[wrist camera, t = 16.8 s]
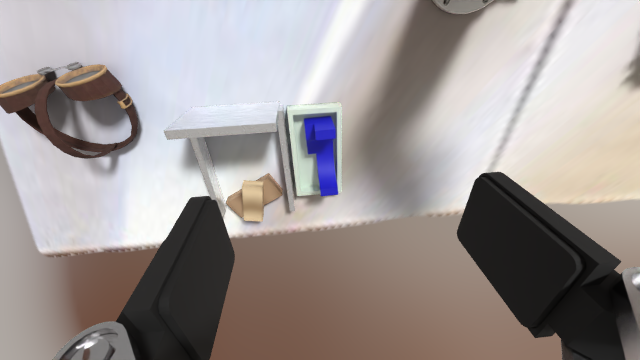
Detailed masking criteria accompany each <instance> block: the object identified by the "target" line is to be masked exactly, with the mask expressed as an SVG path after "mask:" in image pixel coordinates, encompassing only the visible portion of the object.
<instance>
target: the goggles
mask: <svg viewBox="0 0 640 360" xmlns="http://www.w3.org/2000/svg"><path fill="white" fill-rule="evenodd" d="M81 66H82V65H81V64H80V63H79V62H76V63H72V64H69V65H67V66H66V67H60V68H56V69H52V68H50V67H45V68H42V69H40V70H38V71H37V72H38V73H39V74H36V75H29V76H24V77H21V78H18V79H14V80H12V81H9V82H6V83H4V84H2V85H0V106H1V107H2V108H3V109H4V110H5V111H6V113H9V114H10V113H13V112H16V113H17V114H18V115H19V117H20V118H21V119H22V120H24V121H25V122H26V123H28V124H29V125H30V126H31V127H33V128H34V129H35V130H37V131H38V132H40V133H42V134H44V135H45V136H46V137H47V138H48V139H49V140H50V141H51V142H52V144H53V145H54V146H56V147H57V148H59V149H60V150H61V151H63V152H64V153H67V154H69V155H71V156H74V157H79V158H96V157H101V156H104V155H106V154H108V153H110V152H111V151H114V150H117V149H120V148H122V147H124V146H126V145H127V144H129V143H130V142H132V141H133V139H134V137H135V136H136V134H137V128H138V118H137V114H136V110H135V108H134V106H133V104H132V101H133V100H132V99H131V97H130V96H129V95H128V94H125V93H124V92H123V90H122V89H121V86H122V85H121V83H120V82H119V81H118V80H117V79H116V78H115V77H114V76H113V75H112V74H111V73H110V72H109V71H108V70H107V68H106V66H105V65H90V66H86V67H82V68H79V67H81ZM61 68H67V69H69V70H73V71H71V72H68V73H66V74H64V75H62V76H61V77H59V78H57V79H55V80H53V81H50V82H49V81H48V80H47V79H46V77H45V75H43V74H47V73H50V72H52V71H54V70H58V69H61ZM77 68H79V69H77ZM74 69H76V70H74ZM55 84H56V85H57V86H59V87H60V88H61V90H62V91H63V92H64V93H65V94H66V96H67V97H68V98H70V99H72V100H76V101H89V100H96V99H100V98H104V97H107V96H109V95H112V94H113V95H114V96H115V97H116V98H117V99H118V101H117V103H118V104H119V105H120V106H121V108H122V109H125V110H126V112H127V113H128V115H129V118H130V121H131V125H132V130H131V136H130V137H129V138H128V139H126V140H125V141H123V142H120V143H114V144H97V143H90V142H86V141H83V140H79V139H76V138H73V137H71V136H69V135H66V134H64V133H62V132H60V131H58V130H56V129H55V128H53V126H52V124H51V123H50V120H49V116H48V112H47V98H48V95H49V94H51V93H52V92H53V91H54V90H55V89H56V88H55V87H54V86H55ZM34 103H35V114H36V115H35V114H34V113H33V112H32V111H31V110H30V109H29V108H28V106H30V105H32V104H34ZM71 147H73V148H77V149H80V150H85V151H93V152H101V153H100V154H97V155H95V156H91V155H85V154H82V153H80V152H78V151H76V150H74V149H72V148H71Z"/></svg>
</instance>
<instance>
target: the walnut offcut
mask: <svg viewBox="0 0 640 360" xmlns="http://www.w3.org/2000/svg"><path fill="white" fill-rule="evenodd" d="M256 181H263V182H264V205H265V204H267V203H269V202H271V201H273V200H274V199H276V198H278V197H280V196H282V191H283V189H282V188H281V187H280V186H279V184H278V183H277V182H276V181H275V180H274V179H273V177H272V176H271V175H270V174H269V173H268V174H266V175H265V176H263V177H261V178H260V179H258V180H256ZM226 204H227V205H228V206H229V207H230V208H231V209H232V210H234V211H235V212H236V213H237V214H238V215H239V216H240V217H241V218H242V217H244V213H243V196H242V189H241V190H239V191H238V192H236V193H234V194H233V195H231V196H229V197H228V199H227V201H226Z"/></svg>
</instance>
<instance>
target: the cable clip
mask: <svg viewBox="0 0 640 360" xmlns="http://www.w3.org/2000/svg"><path fill="white" fill-rule="evenodd" d="M304 125H305V134H306V143H307V152H308V154H316V158H317V169H318V179H319V186H320V193H321V196H328V195H338V186H337V181H336V174H335V166H334V155H333V139H336V129H335V126H334V124H333V121H332V118H331V116H323V117H313V118H304Z"/></svg>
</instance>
